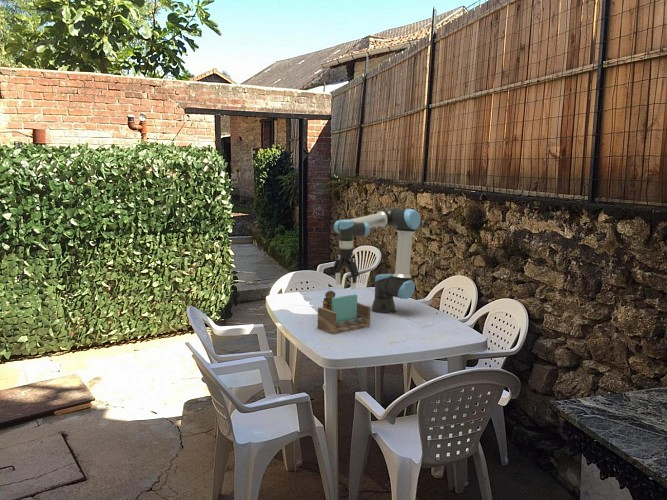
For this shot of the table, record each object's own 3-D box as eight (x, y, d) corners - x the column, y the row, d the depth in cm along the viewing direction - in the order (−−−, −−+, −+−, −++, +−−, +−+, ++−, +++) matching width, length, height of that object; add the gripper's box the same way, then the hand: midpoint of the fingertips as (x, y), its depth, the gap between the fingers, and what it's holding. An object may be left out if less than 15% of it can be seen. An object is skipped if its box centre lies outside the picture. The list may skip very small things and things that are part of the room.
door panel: (353, 322, 302) (354, 294, 300) (356, 323, 301) (357, 295, 298) (331, 326, 293) (331, 297, 291) (333, 327, 291) (334, 298, 289)
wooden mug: (322, 321, 309) (322, 290, 307) (320, 315, 323) (320, 285, 320) (337, 320, 310) (338, 290, 308) (334, 314, 324) (335, 285, 321)
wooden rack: (354, 321, 310) (354, 301, 309) (370, 326, 299) (370, 306, 298) (317, 328, 295) (317, 307, 293) (332, 334, 284) (333, 313, 282)
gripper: (326, 246, 299) (326, 283, 302) (355, 251, 279) (354, 291, 282) (337, 245, 303) (336, 281, 306) (366, 250, 283) (365, 289, 286)
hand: (345, 286), depth 294 cm, fingers open, 13 cm apart
